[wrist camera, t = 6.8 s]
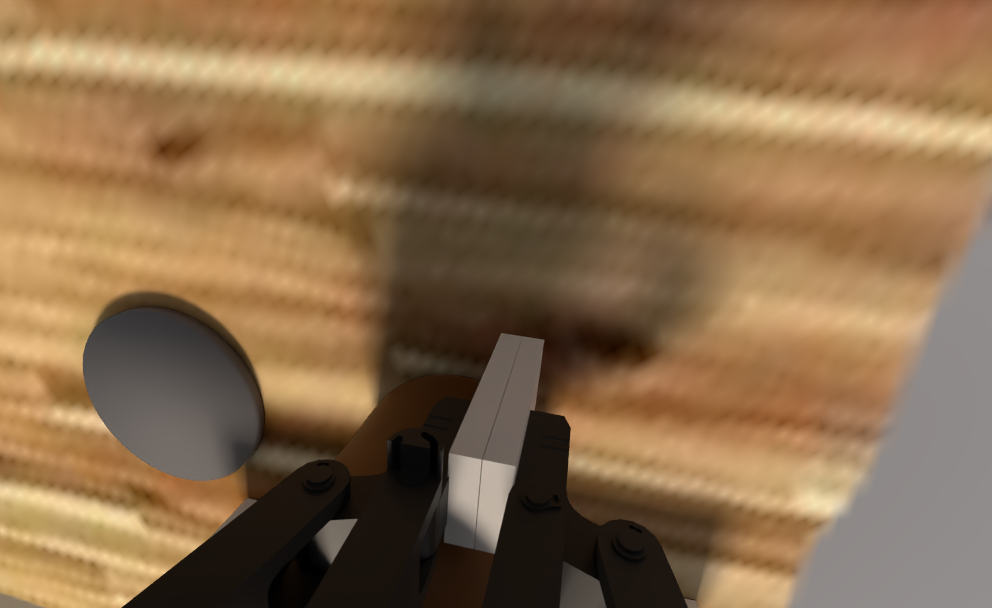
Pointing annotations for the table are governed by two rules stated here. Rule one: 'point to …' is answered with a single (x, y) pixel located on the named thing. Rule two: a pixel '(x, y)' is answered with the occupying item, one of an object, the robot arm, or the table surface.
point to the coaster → (173, 393)
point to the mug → (458, 568)
